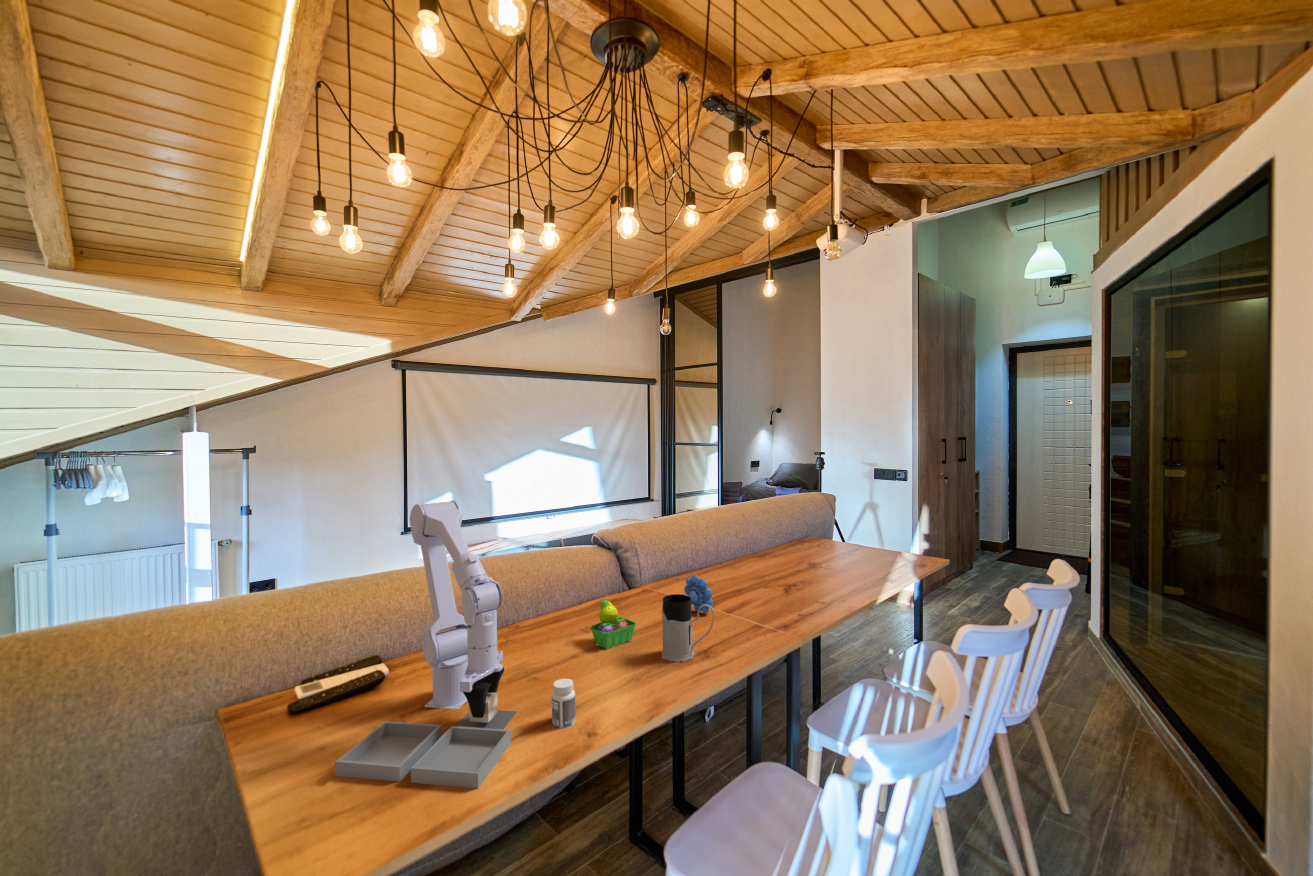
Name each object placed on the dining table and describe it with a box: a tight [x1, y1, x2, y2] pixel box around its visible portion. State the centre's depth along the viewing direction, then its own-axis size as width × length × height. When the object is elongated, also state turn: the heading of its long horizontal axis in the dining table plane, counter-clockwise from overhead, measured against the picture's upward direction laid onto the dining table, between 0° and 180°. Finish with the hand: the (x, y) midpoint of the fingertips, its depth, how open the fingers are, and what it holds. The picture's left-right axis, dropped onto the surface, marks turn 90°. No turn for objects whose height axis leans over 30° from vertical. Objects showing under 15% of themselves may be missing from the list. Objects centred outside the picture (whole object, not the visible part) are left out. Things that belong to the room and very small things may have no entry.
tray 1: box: [334, 720, 443, 782], centre depth 96 cm, size 13×12×3 cm
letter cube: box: [468, 692, 498, 723], centre depth 107 cm, size 4×4×4 cm
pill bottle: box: [551, 678, 577, 729], centre depth 107 cm, size 5×5×8 cm
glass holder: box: [660, 593, 715, 663], centre depth 140 cm, size 9×14×15 cm, turn 78°
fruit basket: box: [589, 599, 637, 650], centre depth 150 cm, size 11×9×11 cm
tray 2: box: [410, 725, 512, 790], centre depth 94 cm, size 13×12×3 cm
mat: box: [455, 709, 518, 730], centre depth 107 cm, size 10×10×1 cm
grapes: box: [683, 574, 714, 614], centre depth 173 cm, size 12×7×12 cm, turn 48°
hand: (483, 710), depth 107 cm, fingers closed on letter cube, 4 cm apart
